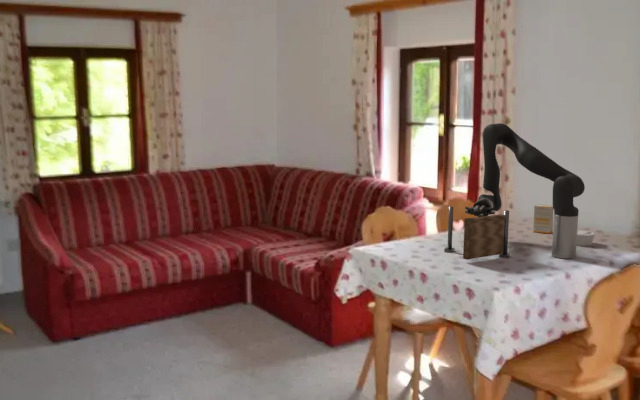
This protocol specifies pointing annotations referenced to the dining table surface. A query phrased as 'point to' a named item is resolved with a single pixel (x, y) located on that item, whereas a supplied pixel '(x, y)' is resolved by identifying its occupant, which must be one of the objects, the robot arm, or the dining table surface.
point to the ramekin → (584, 238)
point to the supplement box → (543, 218)
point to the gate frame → (450, 228)
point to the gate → (483, 236)
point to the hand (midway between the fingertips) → (476, 213)
